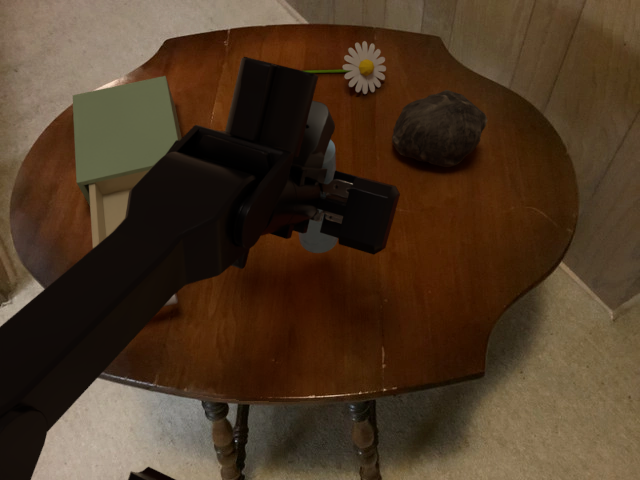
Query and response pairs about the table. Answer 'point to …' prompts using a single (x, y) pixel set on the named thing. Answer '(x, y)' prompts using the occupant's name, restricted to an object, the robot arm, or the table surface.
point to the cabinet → (122, 130)
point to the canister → (313, 237)
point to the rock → (439, 129)
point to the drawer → (112, 207)
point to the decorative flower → (361, 67)
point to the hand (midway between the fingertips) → (320, 190)
